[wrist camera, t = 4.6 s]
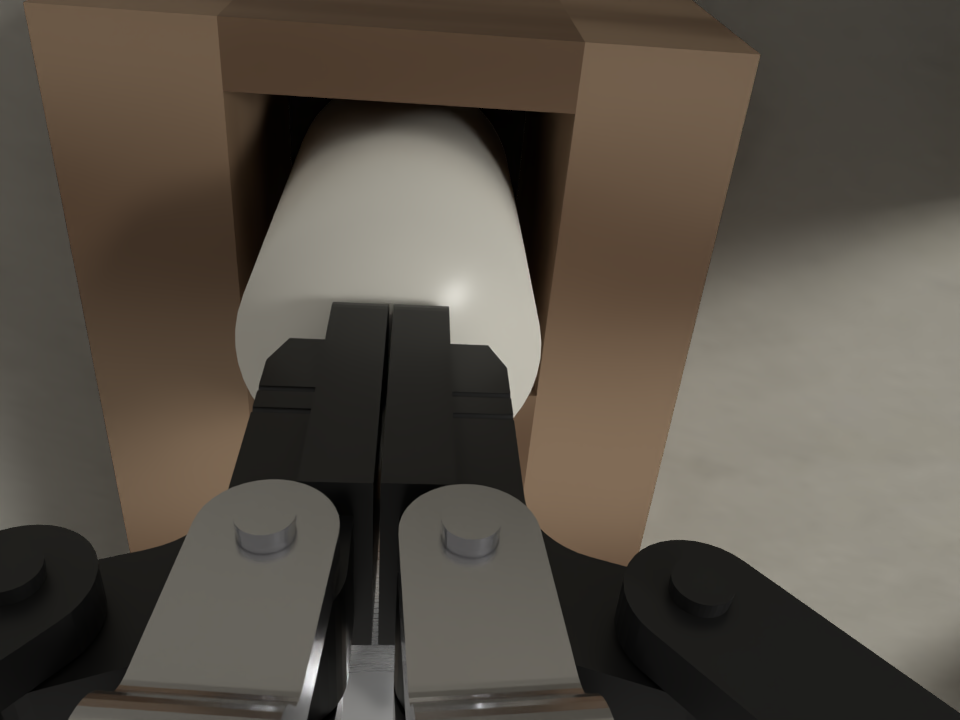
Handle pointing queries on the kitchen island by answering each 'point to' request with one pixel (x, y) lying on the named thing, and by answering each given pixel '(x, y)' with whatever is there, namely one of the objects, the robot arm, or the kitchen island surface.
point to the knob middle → (370, 676)
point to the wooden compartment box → (267, 165)
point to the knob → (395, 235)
